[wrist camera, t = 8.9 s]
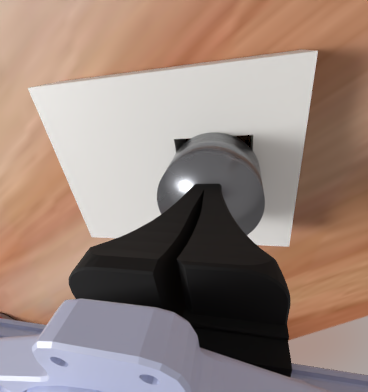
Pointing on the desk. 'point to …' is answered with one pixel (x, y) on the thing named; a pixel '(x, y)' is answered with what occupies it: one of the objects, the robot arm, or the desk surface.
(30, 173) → the desk surface
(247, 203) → the cylinder
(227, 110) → the plate
